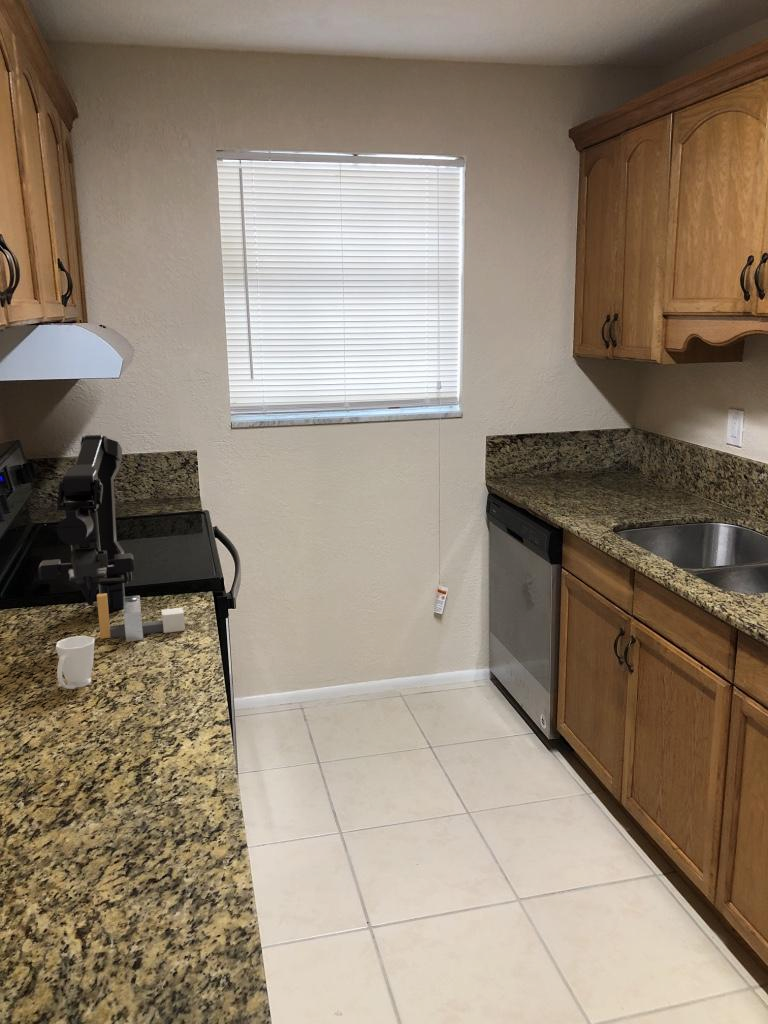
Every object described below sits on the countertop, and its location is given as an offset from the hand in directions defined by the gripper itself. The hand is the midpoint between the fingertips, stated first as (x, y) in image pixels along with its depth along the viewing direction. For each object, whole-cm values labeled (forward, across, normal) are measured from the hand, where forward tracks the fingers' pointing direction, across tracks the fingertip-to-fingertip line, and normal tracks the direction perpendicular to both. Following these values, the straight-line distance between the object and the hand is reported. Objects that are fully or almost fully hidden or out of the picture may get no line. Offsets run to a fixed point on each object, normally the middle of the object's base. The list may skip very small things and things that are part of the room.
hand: (91, 605), depth 174 cm
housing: (+8, +8, +2) cm, 11 cm away
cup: (+8, -2, -25) cm, 26 cm away
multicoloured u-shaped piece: (+7, +10, 0) cm, 13 cm away
